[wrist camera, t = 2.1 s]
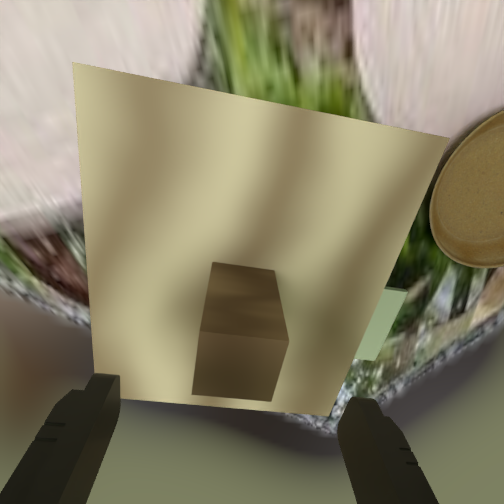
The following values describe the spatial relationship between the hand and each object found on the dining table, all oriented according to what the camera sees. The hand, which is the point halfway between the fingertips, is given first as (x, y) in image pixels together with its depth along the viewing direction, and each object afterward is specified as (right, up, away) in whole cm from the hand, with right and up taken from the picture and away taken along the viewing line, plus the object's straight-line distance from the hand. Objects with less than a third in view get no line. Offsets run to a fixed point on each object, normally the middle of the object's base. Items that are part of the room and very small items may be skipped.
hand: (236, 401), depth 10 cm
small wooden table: (-1, +8, +18) cm, 19 cm away
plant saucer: (+23, +11, +17) cm, 31 cm away
